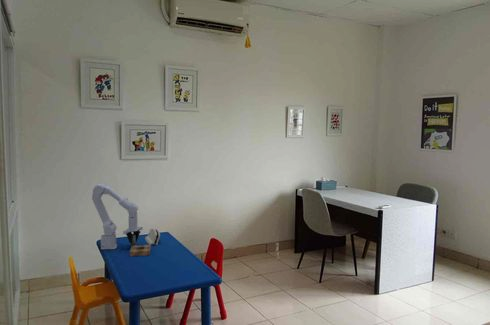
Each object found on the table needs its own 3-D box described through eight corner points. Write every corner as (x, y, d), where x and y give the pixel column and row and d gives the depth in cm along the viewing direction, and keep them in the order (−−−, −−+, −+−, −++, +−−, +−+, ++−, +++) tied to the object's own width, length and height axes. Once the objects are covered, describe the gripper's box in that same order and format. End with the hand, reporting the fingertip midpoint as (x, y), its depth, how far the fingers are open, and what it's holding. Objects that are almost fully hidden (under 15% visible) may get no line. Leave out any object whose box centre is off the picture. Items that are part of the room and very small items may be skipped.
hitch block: (129, 256, 238) (129, 251, 238) (132, 250, 250) (132, 245, 250) (149, 255, 240) (149, 250, 240) (150, 249, 252) (150, 245, 252)
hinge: (144, 239, 274) (149, 226, 275) (150, 240, 277) (155, 227, 277) (150, 245, 260) (155, 231, 260) (156, 247, 262) (161, 233, 263)
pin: (130, 245, 254) (130, 235, 253) (130, 243, 257) (130, 233, 257) (135, 245, 254) (135, 235, 254) (136, 243, 258) (136, 233, 257)
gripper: (127, 225, 246) (127, 246, 248) (145, 221, 258) (145, 240, 259) (121, 223, 250) (121, 243, 252) (138, 219, 262) (138, 238, 263)
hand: (133, 242), depth 256 cm, fingers closed on pin, 4 cm apart
